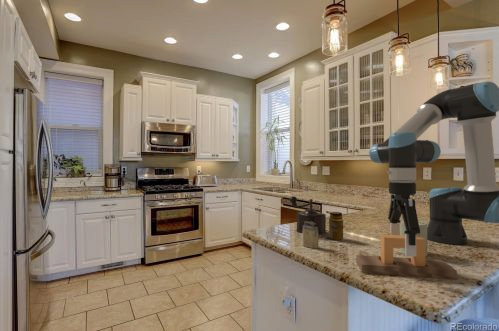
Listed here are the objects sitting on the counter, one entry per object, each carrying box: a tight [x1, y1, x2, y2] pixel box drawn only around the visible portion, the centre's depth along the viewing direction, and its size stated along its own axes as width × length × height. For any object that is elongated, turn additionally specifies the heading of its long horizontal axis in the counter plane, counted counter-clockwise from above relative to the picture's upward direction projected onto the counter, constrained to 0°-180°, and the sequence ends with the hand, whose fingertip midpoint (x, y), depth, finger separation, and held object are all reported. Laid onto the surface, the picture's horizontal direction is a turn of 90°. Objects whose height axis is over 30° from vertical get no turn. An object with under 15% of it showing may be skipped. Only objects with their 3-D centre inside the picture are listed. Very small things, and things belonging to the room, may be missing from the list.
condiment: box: [322, 211, 348, 243], centre depth 121 cm, size 7×8×12 cm
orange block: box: [380, 234, 426, 266], centre depth 85 cm, size 12×4×10 cm, turn 79°
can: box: [399, 219, 429, 257], centre depth 102 cm, size 9×9×12 cm
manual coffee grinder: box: [288, 195, 327, 235], centre depth 133 cm, size 16×11×18 cm
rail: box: [355, 254, 458, 280], centre depth 85 cm, size 26×9×2 cm, turn 79°
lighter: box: [302, 221, 319, 249], centre depth 110 cm, size 7×4×10 cm, turn 42°
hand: (402, 248), depth 85 cm, fingers open, 13 cm apart
